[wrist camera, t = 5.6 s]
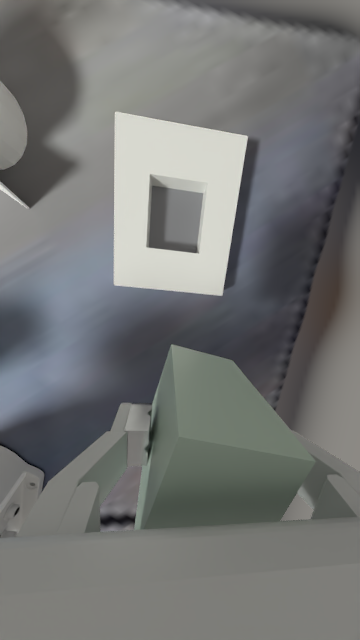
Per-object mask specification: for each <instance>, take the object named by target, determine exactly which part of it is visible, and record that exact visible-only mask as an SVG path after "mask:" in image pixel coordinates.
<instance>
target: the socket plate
mask: <svg viewBox="0 0 360 640" xmlns="http://www.w3.org/2000/svg"><path fill="white" fill-rule="evenodd" d="M247 139H248V136H244V135H239V134H234V133H228V132H223V131H217V130H212V129H207V128H201V127H196V126H190V125H185V124H180V123H174V122H169V121H163V120H158V119H153V118H147V117H142V116H136V115H131V114H125V113H120V112H115V180H114V285H117V286H127V287H138V288H148V289H158V290H168V291H179V292H189V293H199V294H209V295H219V296H222V295H223V289H224V282H225V276H226V270H227V264H228V257H229V251H230V245H231V239H232V232H233V226H234V220H235V214H236V208H237V201H238V195H239V189H240V183H241V176H242V170H243V164H244V158H245V151H246V145H247Z"/></svg>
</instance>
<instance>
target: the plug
mask: <svg viewBox="0 0 360 640" xmlns="http://www.w3.org/2000/svg"><path fill="white" fill-rule="evenodd" d="M151 418H152V419H151V433H150V441H149V452H148V462H147V466H142V473H141V481H140V489H139V497H138V505H137V512H136V520H135V528H134V530H142V529H159V528H176V527H193V526H210V525H226V524H242V523H259V522H276V521H280V520H281V518H282V517H283V515H284V513H285V512H286V510H287V508H288V507H289V505H290V503H291V502H292V500H293V498H294V497H295V495H296V494H297V492H298V490H299V489H300V487H301V485H302V484H303V482H304V480H305V479H306V477H307V476H308V474H309V472H310V471H311V469H312V467H313V466H314V464H315V462H316V461H315V460H314V459H313V457H312V456H311V455H310V454H309V453H308V451H307V450H306V449H305V448H304V446H303V445H302V444H301V443H300V442H299V440H298V439H297V438H296V437H295V436H294V434H293V433H292V432H291V431H290V430H289V428H288V427H287V426H286V425H285V423H284V422H283V421H282V420H281V419H280V417H279V416H278V415H277V414H276V413H275V411H274V410H273V409H272V408H271V406H270V405H269V404H268V403H267V402H266V400H265V399H264V398H263V397H262V396H261V394H260V393H259V392H258V391H257V389H256V388H255V387H254V386H253V385H252V383H251V382H250V381H249V380H248V379H247V377H246V376H245V375H244V374H243V372H242V371H241V370H240V369H239V368H238V366H237V365H236V364H235V363H234V362H233V360H229V359H226V358H222V357H218V356H214V355H211V354H207V353H203V352H199V351H195V350H192V349H188V348H184V347H180V346H177V345H173V344H171V347H170V350H169V353H168V356H167V359H166V362H165V365H164V369H163V372H162V375H161V378H160V381H159V384H158V387H157V390H156V394H155V397H154V400H153V403H152V416H151Z"/></svg>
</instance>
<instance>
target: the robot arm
mask: <svg viewBox="0 0 360 640" xmlns="http://www.w3.org/2000/svg"><path fill="white" fill-rule="evenodd" d="M271 408H272V407H271ZM272 409H273V408H272ZM275 413H276V412H275ZM276 414H277V413H276ZM277 415H278V414H277ZM151 416H152V403H121V404H120V406H119V409H118V412H117V414H116V417H115V420H114V422H113V425H112V428H111V430H110V431H107V432H105V433H104V434H103V435H102V436H101V437H100V438H98V439H97V440H96V441H95V442H94V443H93V444H91V445H90V446H89V447H88V448H87V449H86V450H84V451H83V452H82V453H81V454H80V455H79V456H77V457H76V458H75V459H74V460H73V461H72V462H70V463H69V464H68V465H67V466H66V467H65V468H63V469H62V470H61V471H60V472H59V473H58V474H57V475H55V476H54V477H53V478H52V479H51V480H50V481H48V483H47V485H46V486H45V488H44V490H43V491H42V487H43V480H44V473H43V471H41V470H40V469H38V468H36V467H34V466H31V465H29V464H27V463H26V462H24V461H23V460H22V459H21V458H20V457H19V456H18V455H16V454H15V453H14V452H12V451H10V450H9V449H7V448H5V447H2V446H0V640H360V472H359V471H358V470H356V469H355V468H353V467H351V466H350V465H348V464H347V463H345V462H343V461H342V460H340V459H339V458H337V457H335V456H334V455H332V454H330V453H329V452H327V451H326V450H324V449H322V448H321V447H319V446H318V445H316V444H314V443H313V442H311V441H309V440H308V439H306V438H305V437H303V436H302V435H300V434H298V433H297V432H295V431H291V430H290V429H289V430H290V431H291V432H292V433H293V434H294V436H295V437H296V438H297V439H298V440H299V442H300V443H301V444H302V445H303V446H304V448H305V449H306V450H307V451H308V453H309V454H310V455H311V456H312V457H313V459H314V460H315V461H316V462H315V464H314V466H313V467H312V469H311V471H310V472H309V474H308V476H307V477H306V479H305V480H304V482H303V484H302V485H301V487H300V489H299V490H298V492H297V494H298V495H299V496H300V497H301V498H302V499H303V500H304V501H305V502H306V503H307V504H308V505H309V506H310V507H311V508H312V509H313V510H314V511H313V514H312V517H311V519H309V520H293V521H276V522H259V523H242V524H226V525H210V526H193V527H176V528H159V529H142V530H126V531H109V532H100V506H101V504H102V503H103V502H104V500H105V499H106V497H107V496H108V494H109V493H110V492H111V490H112V489H113V487H114V486H115V484H116V483H117V482H118V480H119V479H120V477H121V476H122V474H123V473H124V472H125V470H126V469H127V467H132V466H147V462H148V452H149V441H150V433H151V419H152V418H151ZM280 419H281V418H280ZM282 421H283V420H282ZM285 425H286V424H285ZM286 426H287V425H286ZM287 427H288V426H287Z"/></svg>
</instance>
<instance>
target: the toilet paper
mask: <svg viewBox="0 0 360 640" xmlns="http://www.w3.org/2000/svg"><path fill="white" fill-rule="evenodd" d="M26 145H27V126H26V122H25V118H24V114H23V112H22V110H21V108H20V106H19V104H18V102H17V100H16V98H15V97H14V96H13V95H12V94H11V92H10V91H9V90H8V89H7V88H6V86H5V85H4V84H3V83H2V82H1V81H0V170H5V169H7V168H9V167H11V166H13V165H15V164H16V163H17V162H18V161H19V160H20V158H21V157H22V156H23V153H24V151H25V148H26ZM0 190H2V191H3V192H5V193H6V194H8V195H9V196H10V197H12V198H13V199H15V200H16V201H18V202H19V203H20V204H22V205H23V206H25V207H26V208H27V209H30V208H29V207H28V206H27V205H26V204H25V203H24V202H23V201H22V200H20V199H19V198H18V197H17V196H16V195H15V194H14V193H13V192H12V191H10V190H9V189H8V188H7V187H6V186H5V185H4V184H3V183H2V182H0Z"/></svg>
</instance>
